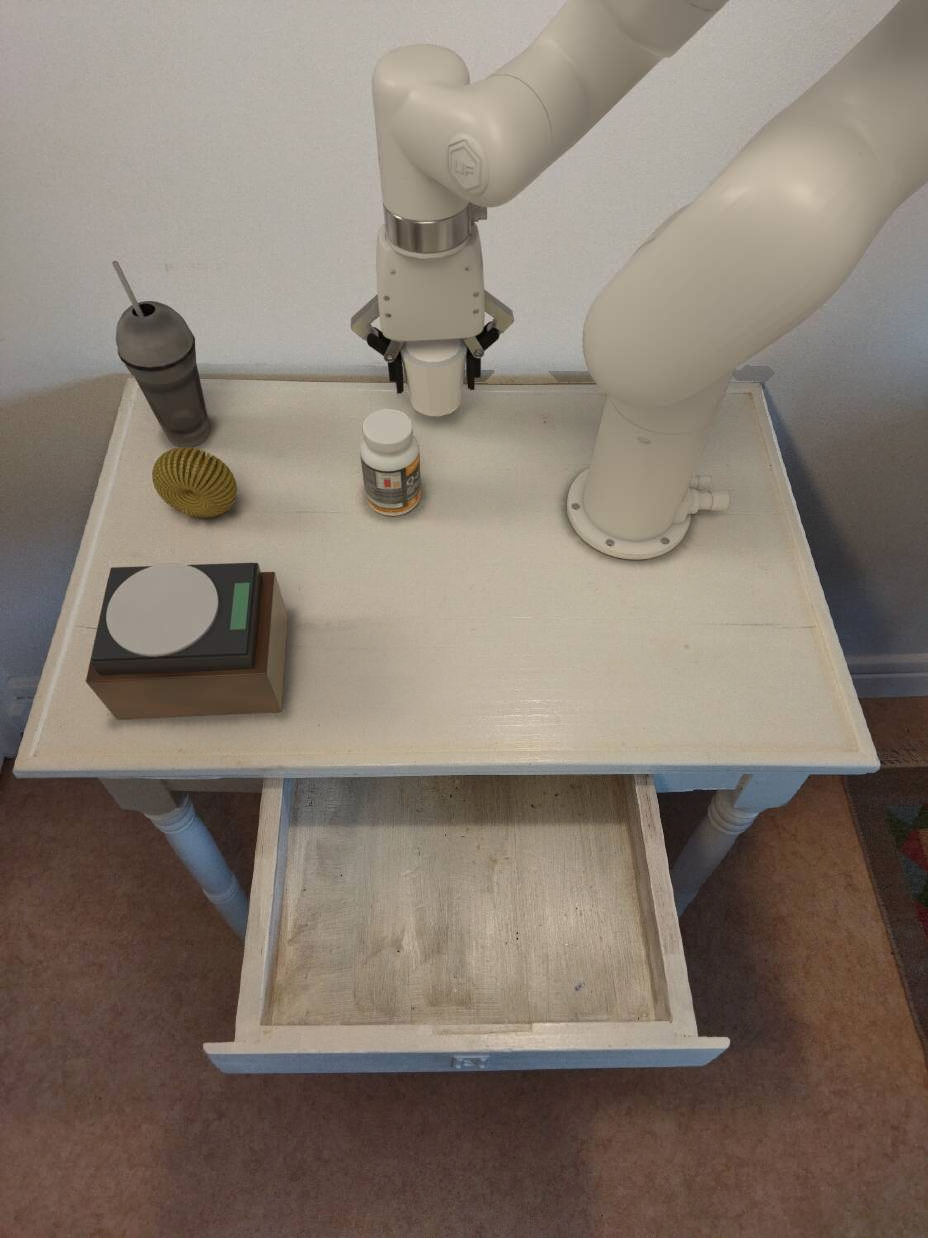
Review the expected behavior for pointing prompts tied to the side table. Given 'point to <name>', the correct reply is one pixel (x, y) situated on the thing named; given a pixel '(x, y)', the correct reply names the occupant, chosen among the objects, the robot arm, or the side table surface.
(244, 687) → the walnut riser
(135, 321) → the beverage cup
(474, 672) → the side table surface
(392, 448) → the pill bottle
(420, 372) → the white cup
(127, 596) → the kitchen scale
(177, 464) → the sculpture
